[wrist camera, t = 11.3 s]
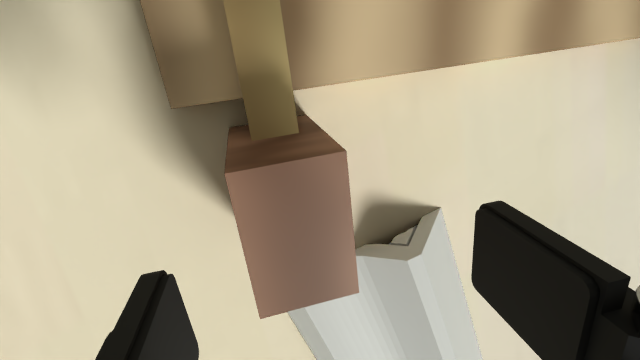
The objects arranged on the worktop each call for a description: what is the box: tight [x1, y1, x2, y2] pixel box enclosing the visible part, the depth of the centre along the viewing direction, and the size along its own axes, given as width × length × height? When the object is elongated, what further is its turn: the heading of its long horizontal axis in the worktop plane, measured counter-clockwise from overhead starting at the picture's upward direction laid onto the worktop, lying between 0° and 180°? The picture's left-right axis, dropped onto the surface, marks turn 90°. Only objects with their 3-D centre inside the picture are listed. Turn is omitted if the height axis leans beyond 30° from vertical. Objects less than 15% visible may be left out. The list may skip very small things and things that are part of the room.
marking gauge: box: [223, 0, 359, 319], centre depth 13 cm, size 4×16×7 cm, turn 7°
